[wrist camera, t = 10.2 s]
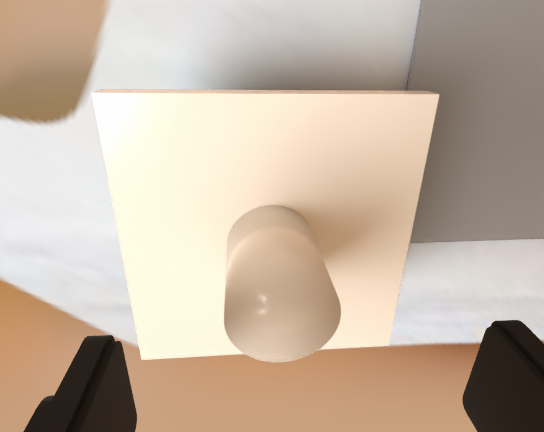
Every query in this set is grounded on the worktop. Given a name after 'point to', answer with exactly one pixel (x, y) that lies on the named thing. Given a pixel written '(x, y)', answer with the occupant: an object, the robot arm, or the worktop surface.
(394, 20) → the worktop surface
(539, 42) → the mat
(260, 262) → the lid
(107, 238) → the worktop surface
